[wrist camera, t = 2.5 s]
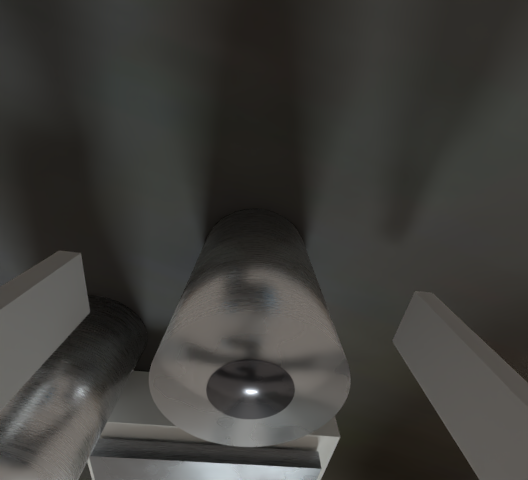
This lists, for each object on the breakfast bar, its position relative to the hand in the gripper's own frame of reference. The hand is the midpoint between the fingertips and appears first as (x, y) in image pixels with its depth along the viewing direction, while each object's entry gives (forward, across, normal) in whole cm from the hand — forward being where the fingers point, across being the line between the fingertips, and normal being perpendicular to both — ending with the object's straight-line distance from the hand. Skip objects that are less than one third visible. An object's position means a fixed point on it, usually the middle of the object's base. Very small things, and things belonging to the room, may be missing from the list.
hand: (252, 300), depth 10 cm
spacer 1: (+3, -8, -6) cm, 10 cm away
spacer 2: (+3, 0, 0) cm, 3 cm away
